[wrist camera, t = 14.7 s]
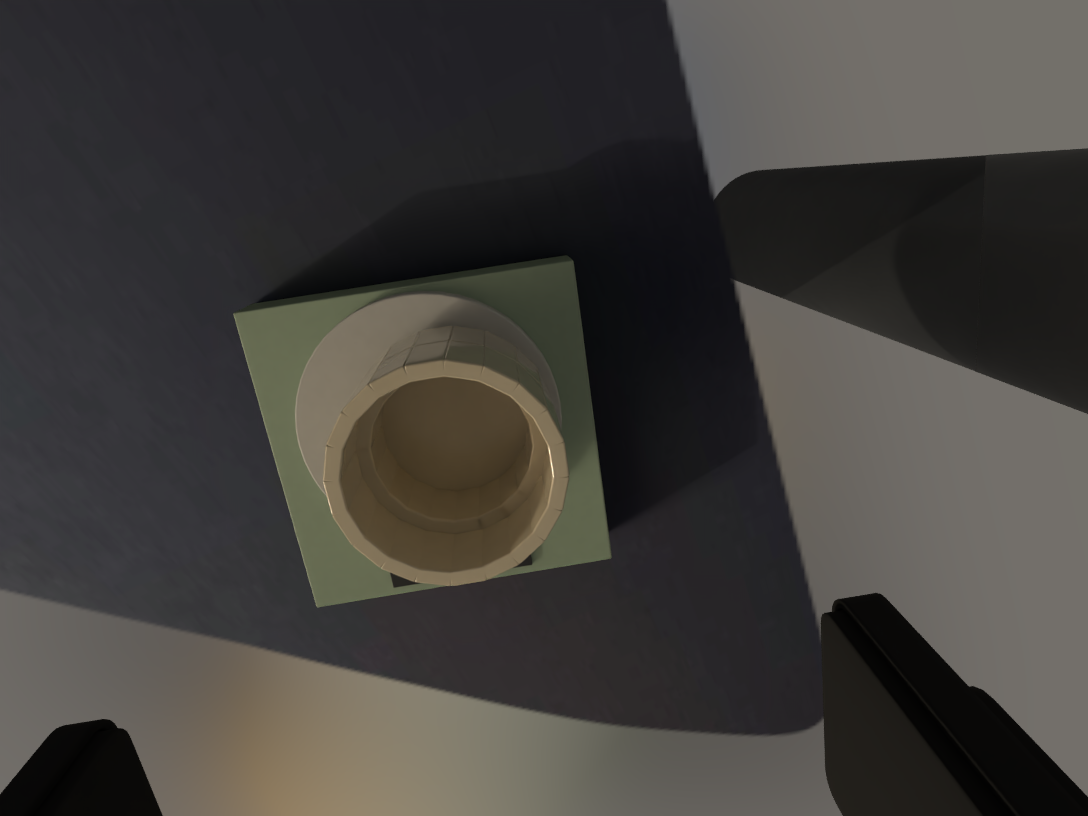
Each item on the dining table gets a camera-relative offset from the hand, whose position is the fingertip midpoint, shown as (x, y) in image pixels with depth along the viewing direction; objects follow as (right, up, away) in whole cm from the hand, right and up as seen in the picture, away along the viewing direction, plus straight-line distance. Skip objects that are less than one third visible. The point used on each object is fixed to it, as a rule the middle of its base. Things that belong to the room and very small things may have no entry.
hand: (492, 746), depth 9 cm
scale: (-4, +4, +19) cm, 19 cm away
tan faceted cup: (-3, +4, +16) cm, 17 cm away
